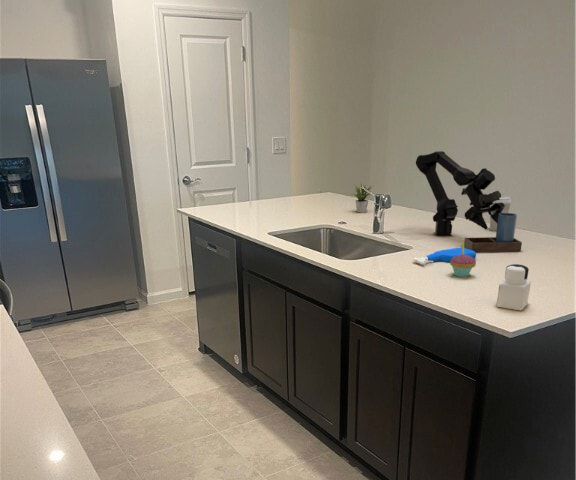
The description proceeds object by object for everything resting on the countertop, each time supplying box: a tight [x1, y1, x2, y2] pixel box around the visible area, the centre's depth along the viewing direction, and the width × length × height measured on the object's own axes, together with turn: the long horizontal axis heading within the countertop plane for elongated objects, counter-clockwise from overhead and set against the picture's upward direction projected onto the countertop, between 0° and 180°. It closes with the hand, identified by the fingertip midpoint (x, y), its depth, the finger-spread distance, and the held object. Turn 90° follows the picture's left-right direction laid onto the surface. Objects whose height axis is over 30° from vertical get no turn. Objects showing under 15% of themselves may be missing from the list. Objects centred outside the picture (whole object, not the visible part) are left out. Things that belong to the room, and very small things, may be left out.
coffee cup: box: [489, 195, 513, 232], centre depth 255 cm, size 10×10×15 cm
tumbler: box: [495, 212, 518, 243], centre depth 221 cm, size 7×7×13 cm
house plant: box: [351, 181, 373, 214], centre depth 305 cm, size 14×14×16 cm
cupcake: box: [449, 239, 477, 278], centre depth 188 cm, size 9×8×12 cm
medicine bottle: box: [496, 263, 532, 311], centre depth 159 cm, size 7×7×12 cm
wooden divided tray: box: [463, 236, 523, 254], centre depth 223 cm, size 20×10×4 cm, turn 91°
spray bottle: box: [413, 247, 477, 266], centre depth 208 cm, size 3×11×24 cm
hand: (494, 227), depth 225 cm, fingers open, 9 cm apart
